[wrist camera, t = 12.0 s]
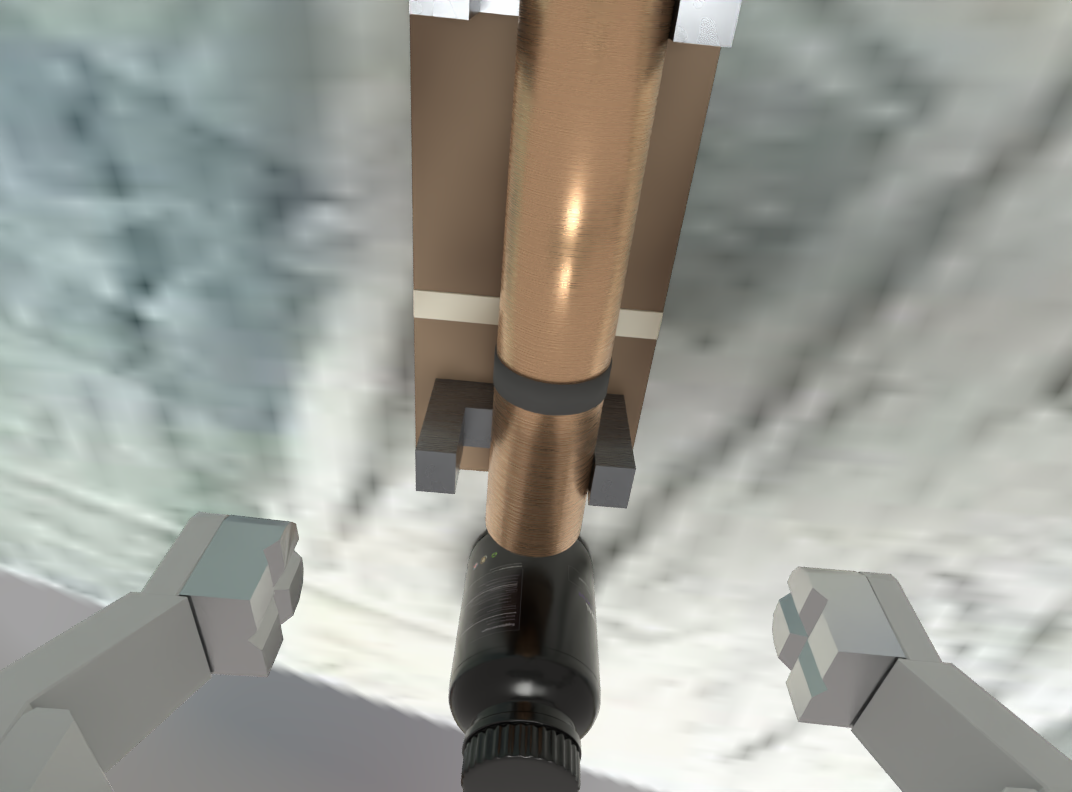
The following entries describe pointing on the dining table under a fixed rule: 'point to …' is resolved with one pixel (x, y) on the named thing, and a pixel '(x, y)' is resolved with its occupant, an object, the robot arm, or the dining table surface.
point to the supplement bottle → (525, 669)
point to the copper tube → (566, 252)
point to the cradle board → (481, 191)
